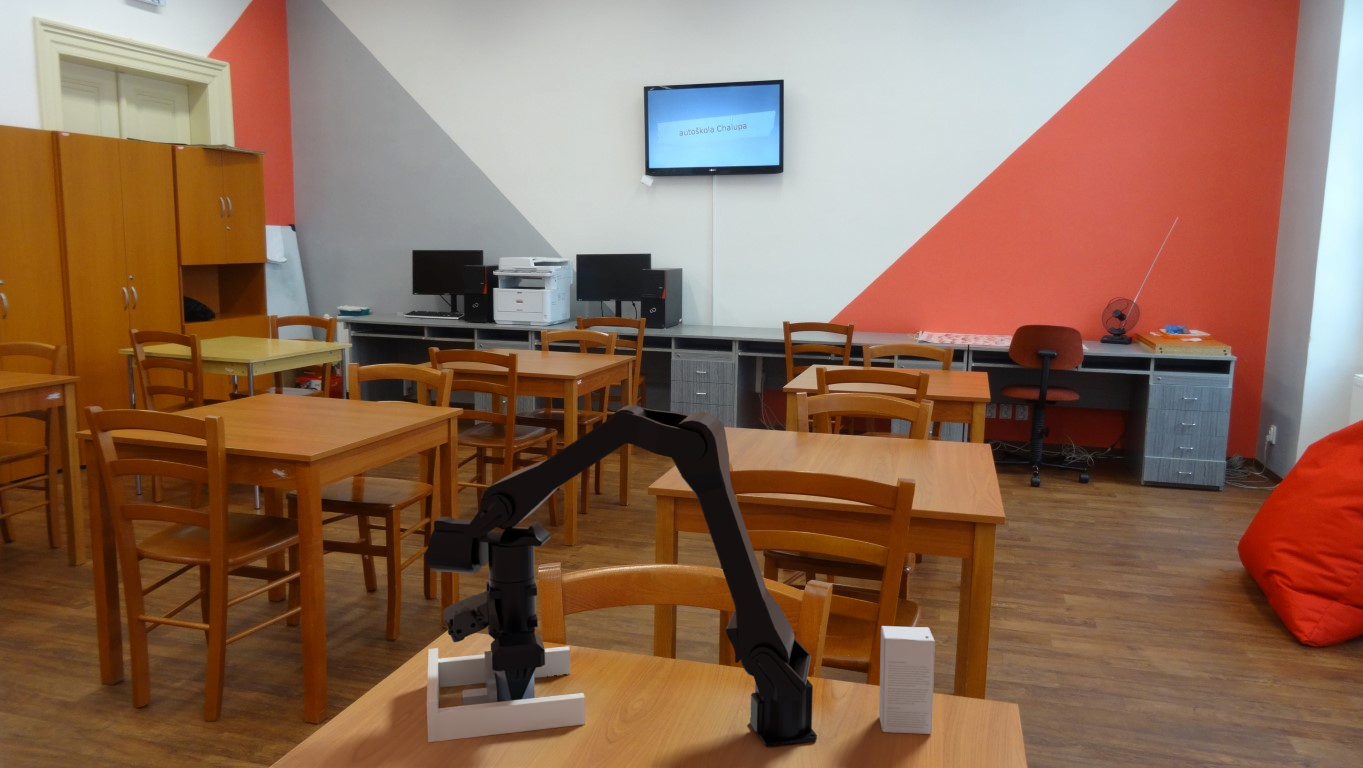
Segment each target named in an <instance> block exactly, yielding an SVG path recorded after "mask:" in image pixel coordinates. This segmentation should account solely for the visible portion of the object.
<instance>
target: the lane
mask: <svg viewBox="0 0 1363 768" xmlns="http://www.w3.org/2000/svg"><path fill="white" fill-rule="evenodd" d="M544 649H545V665H544V666H542V667H537V668H536V669H535V671H534V679H536V678H538V679H539V678H546V677H547V676H548V677H555V676H554V675H557V676H563V675H562V674H567V675H571V649H570V646H569V645H567V646H559V647H547V648H544ZM427 660H428V661H427V685H426V686H427V689H426V717H427V722H426V723H427V742H428V743H432V742H433V743H434V742H442V741H451V740H458V739H467V738H477V737H487V736H495V735H496V736H497V735H502V734H511V733H521V732H530V731H535V730H536V731H537V730H547V729H555V728H563V727H571V726H572V727H573V726H581V725H586V697H585V693H584V692H579V693H570V694H561V695H552V696H551V695H550V696H542V697H535V698H531V699H522V700H512V701H503V702H494V703H484V704H475V705H466V706H463V705H458V706H457V705H456V706H449V707H440V688H447V687H449V688H450V687H457V686H466V685H467V686H468V685H479V684H485V654H475V655H474V654H472V655H464V656H454V657H453V656H452V657H444V658H443V657H441V658H439V648H438V647H435V648H428V659H427Z"/></svg>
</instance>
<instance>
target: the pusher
mask: <svg viewBox="0 0 1363 768" xmlns="http://www.w3.org/2000/svg"><path fill="white" fill-rule="evenodd" d="M483 653H484V654H485V683H484V685H485V687H481V688H480V687H479V688H471V689H463V690H462V706H466V705H475V704H484V703H494V702H497V687H496V679H495V671H494V670H492V662H491V650H486V651H484V652H483Z"/></svg>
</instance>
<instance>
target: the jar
mask: <svg viewBox="0 0 1363 768" xmlns="http://www.w3.org/2000/svg"><path fill="white" fill-rule="evenodd" d="M495 679H496V687H497V702H503V701H512V700H511V696H510V691H509V687H508V683H507V679H506V675H505V671H498V672H497V671H495ZM535 688H536V687H535V678H534V673H533V675H532V678H531V680H530V682H529V684H528V687H527V689H526V691H525V694H524V696H523V698H522V699H531V698H536V697H535V695H536V694H535V692H536V691H535V690H536V689H535Z"/></svg>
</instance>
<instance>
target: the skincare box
mask: <svg viewBox="0 0 1363 768" xmlns="http://www.w3.org/2000/svg"><path fill="white" fill-rule="evenodd" d="M935 648H936V640H935V638H934V636H933V634H932V632H931V629H930V628H929V627H927V626H926V627H921V626H920V627H919V626H918V627H915V626H891V625H881V626H880V654H879V655H880V657H879V659H880V660H879V661H880V663H879V666H880V667H879V702H878V703H879V704H878V705H879V706H878V707H879V708H878V716H879V717H878V718H879V721H880V726H881V731H882V732H883V733H896V734H898V733H899V734H917V735H918V734H920V735H921V734H922V735H931V734H932V732H933V709H934V708H933V706H934V705H933V703H934V684H935V683H934V682H935V681H934V679H935V677H934V676H935V674H934V673H935Z"/></svg>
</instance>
